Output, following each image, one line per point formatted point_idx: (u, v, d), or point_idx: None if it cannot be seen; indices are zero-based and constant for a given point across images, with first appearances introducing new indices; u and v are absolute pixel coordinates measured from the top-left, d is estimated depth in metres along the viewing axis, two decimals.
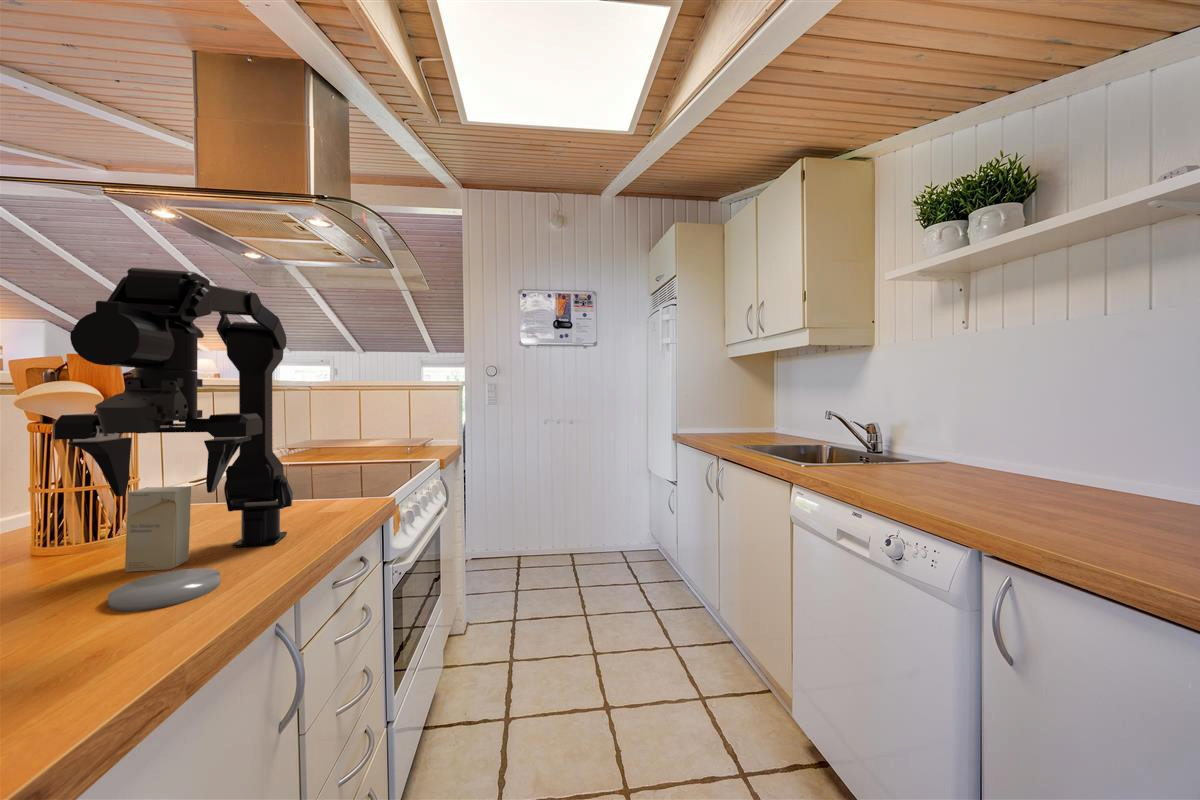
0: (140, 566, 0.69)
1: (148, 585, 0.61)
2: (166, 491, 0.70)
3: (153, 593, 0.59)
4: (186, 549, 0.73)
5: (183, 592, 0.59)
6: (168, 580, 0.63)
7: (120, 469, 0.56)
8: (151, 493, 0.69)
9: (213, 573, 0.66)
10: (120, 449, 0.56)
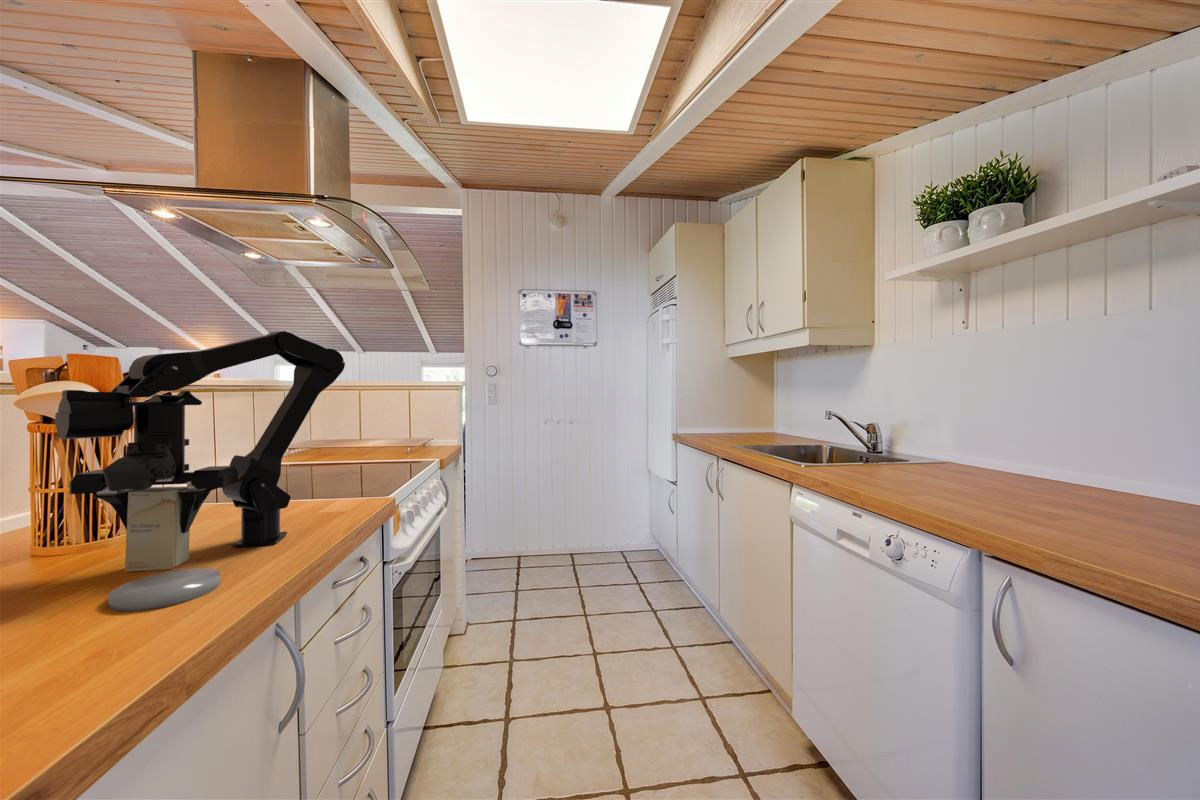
0: (140, 565, 0.69)
1: (148, 585, 0.61)
2: (166, 491, 0.70)
3: (153, 593, 0.59)
4: (186, 549, 0.73)
5: (183, 592, 0.59)
6: (168, 580, 0.63)
7: None
8: (151, 493, 0.69)
9: (213, 573, 0.66)
10: None
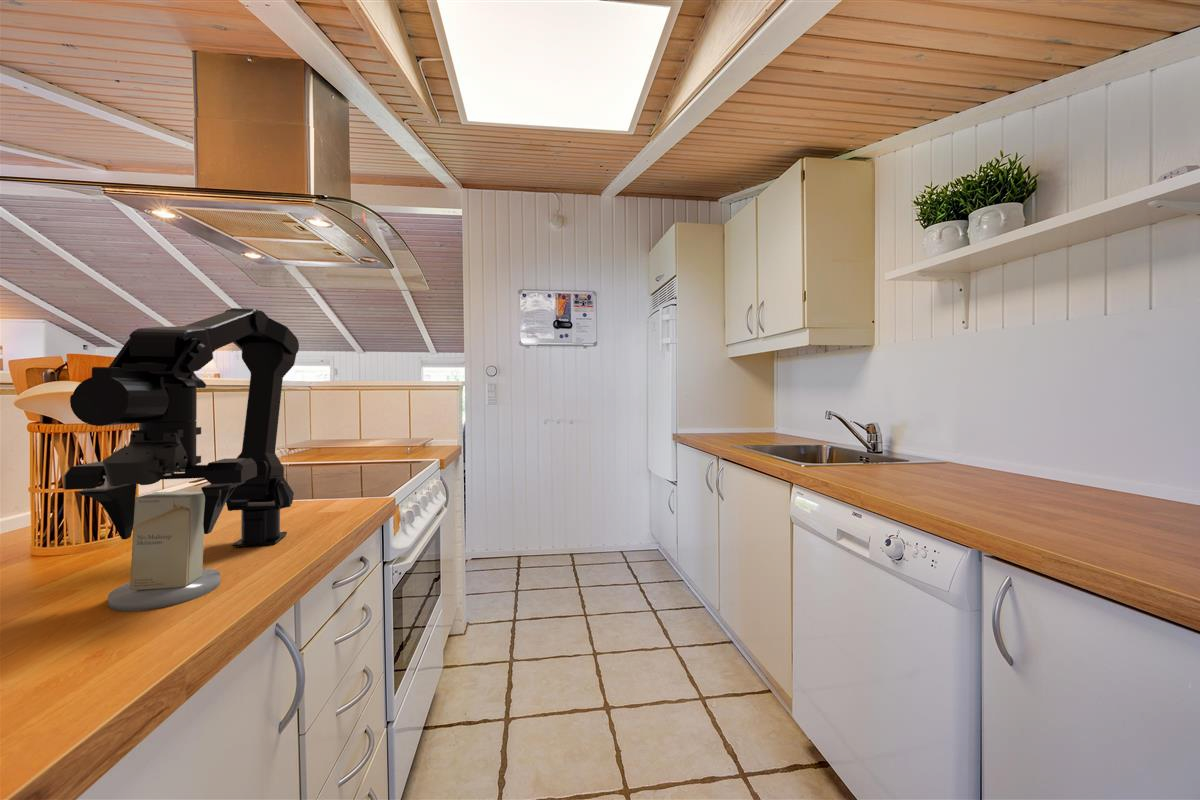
0: (147, 583, 0.60)
1: None
2: (179, 497, 0.61)
3: (153, 593, 0.59)
4: (200, 563, 0.64)
5: (183, 592, 0.59)
6: None
7: (126, 514, 0.61)
8: (162, 499, 0.60)
9: (213, 573, 0.66)
10: (126, 495, 0.61)
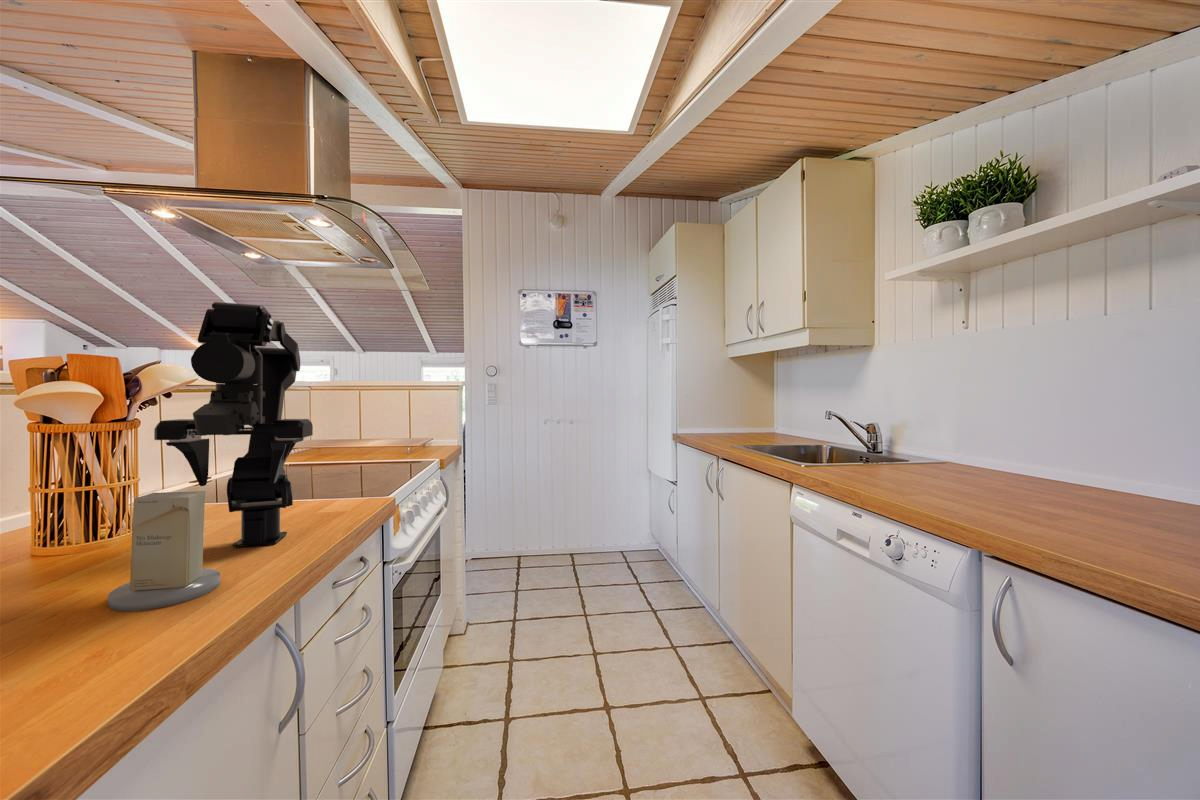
0: (147, 584, 0.60)
1: None
2: (178, 497, 0.61)
3: (153, 593, 0.59)
4: (200, 563, 0.64)
5: (183, 592, 0.59)
6: None
7: (203, 464, 0.70)
8: (161, 499, 0.60)
9: (213, 573, 0.66)
10: (202, 448, 0.70)
